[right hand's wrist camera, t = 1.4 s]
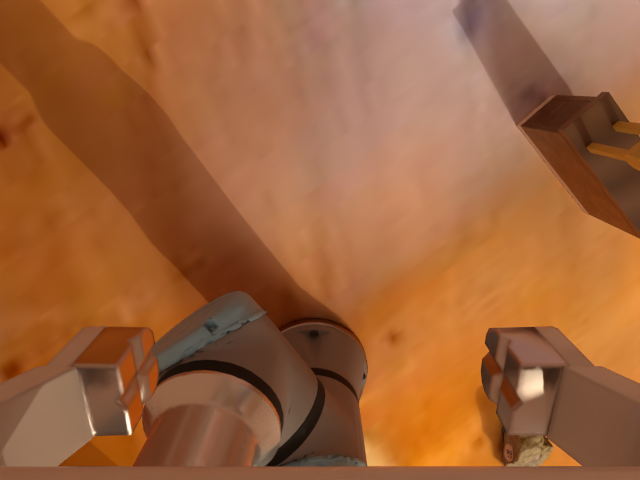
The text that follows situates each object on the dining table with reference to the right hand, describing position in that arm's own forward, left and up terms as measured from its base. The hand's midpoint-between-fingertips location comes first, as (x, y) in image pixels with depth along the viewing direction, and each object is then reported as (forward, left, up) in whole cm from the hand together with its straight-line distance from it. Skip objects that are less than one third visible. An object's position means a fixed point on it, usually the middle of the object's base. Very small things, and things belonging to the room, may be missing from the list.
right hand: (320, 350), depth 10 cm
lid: (-5, +29, -33) cm, 44 cm away
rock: (+38, +41, -43) cm, 70 cm away
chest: (-5, +30, -43) cm, 52 cm away
